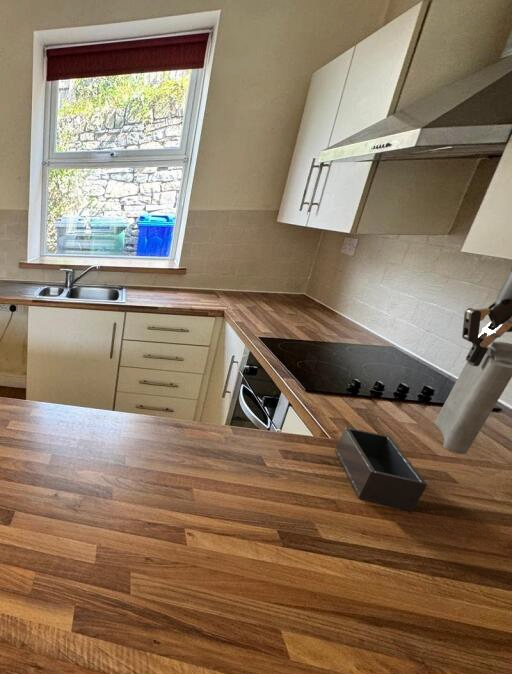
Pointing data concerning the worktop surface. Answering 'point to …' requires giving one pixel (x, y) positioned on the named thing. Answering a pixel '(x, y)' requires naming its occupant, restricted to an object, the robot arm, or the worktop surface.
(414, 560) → the worktop surface
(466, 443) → the hip flask
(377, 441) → the flask holder
